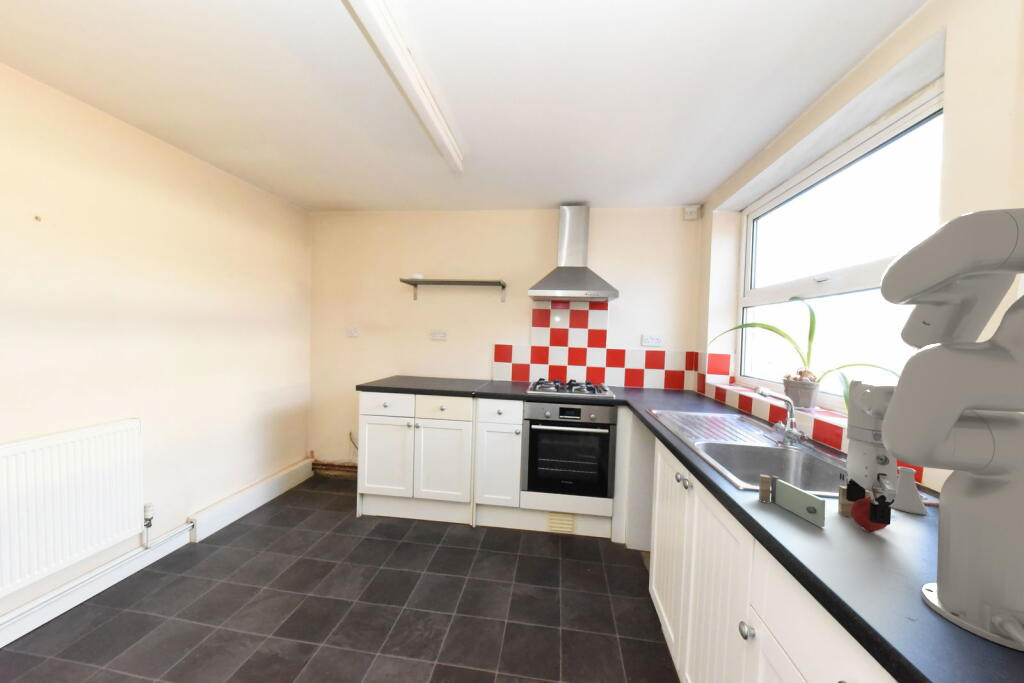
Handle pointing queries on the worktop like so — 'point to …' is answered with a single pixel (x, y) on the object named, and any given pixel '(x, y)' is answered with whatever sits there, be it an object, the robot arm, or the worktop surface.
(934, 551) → the worktop surface
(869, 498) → the onion
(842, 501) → the door frame
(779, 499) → the door
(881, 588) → the worktop surface
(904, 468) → the flask
